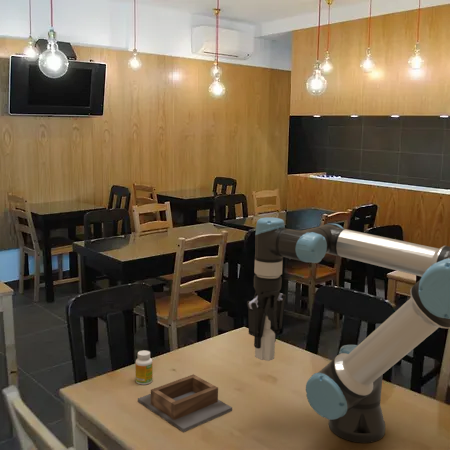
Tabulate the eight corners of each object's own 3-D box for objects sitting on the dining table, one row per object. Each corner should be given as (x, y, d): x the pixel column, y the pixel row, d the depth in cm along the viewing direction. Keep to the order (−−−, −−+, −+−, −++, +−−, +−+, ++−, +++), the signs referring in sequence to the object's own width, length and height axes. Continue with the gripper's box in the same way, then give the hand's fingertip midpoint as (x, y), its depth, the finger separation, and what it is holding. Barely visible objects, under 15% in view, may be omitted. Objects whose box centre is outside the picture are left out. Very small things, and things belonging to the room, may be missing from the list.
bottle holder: (232, 410, 162) (232, 393, 161) (183, 432, 150) (183, 413, 149) (185, 384, 178) (185, 367, 177) (137, 401, 166) (137, 384, 165)
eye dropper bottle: (269, 352, 158) (270, 312, 156) (275, 361, 152) (277, 319, 150) (254, 353, 157) (255, 313, 155) (260, 362, 151) (261, 320, 149)
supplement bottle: (147, 386, 175) (147, 357, 174) (132, 383, 177) (132, 354, 175) (155, 379, 180) (155, 350, 179) (140, 376, 182) (140, 348, 180)
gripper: (278, 267, 159) (274, 344, 163) (236, 276, 148) (233, 359, 152) (298, 273, 153) (294, 353, 157) (256, 283, 142) (252, 368, 146)
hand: (264, 356), depth 155 cm, fingers closed on eye dropper bottle, 3 cm apart
